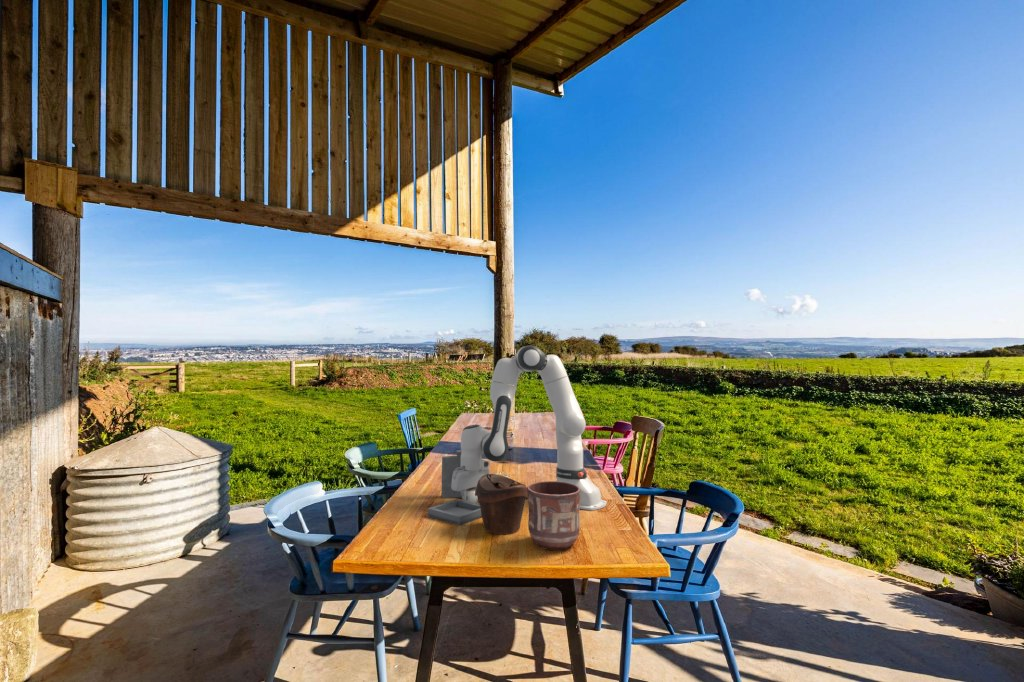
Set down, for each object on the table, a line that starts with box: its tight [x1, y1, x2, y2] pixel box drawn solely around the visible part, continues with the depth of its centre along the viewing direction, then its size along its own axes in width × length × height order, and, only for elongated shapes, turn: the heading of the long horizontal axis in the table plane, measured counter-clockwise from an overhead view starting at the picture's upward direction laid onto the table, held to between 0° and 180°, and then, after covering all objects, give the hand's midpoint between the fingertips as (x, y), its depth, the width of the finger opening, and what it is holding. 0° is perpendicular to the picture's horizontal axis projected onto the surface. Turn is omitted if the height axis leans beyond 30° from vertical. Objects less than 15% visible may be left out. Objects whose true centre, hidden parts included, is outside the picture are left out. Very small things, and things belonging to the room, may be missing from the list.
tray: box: [427, 499, 482, 526], centre depth 182 cm, size 17×16×3 cm
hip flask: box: [440, 449, 476, 499], centre depth 210 cm, size 16×4×20 cm, turn 96°
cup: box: [463, 488, 478, 504], centre depth 198 cm, size 6×6×6 cm
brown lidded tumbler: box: [475, 473, 528, 535], centre depth 168 cm, size 18×20×18 cm
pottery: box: [526, 480, 581, 551], centre depth 154 cm, size 18×18×18 cm
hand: (470, 498), depth 197 cm, fingers closed on cup, 6 cm apart
